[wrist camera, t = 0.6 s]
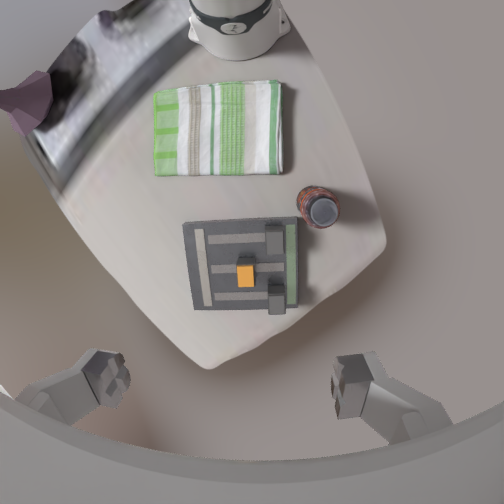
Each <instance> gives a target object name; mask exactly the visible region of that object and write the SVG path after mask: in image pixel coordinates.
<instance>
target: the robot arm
mask: <svg viewBox="0 0 504 504" xmlns="http://www.w3.org/2000/svg"><path fill="white" fill-rule="evenodd" d="M189 2H190V6H191V8H190V14H191V17H189V21H190V24H191V27H190V31H189V35H188V36H189V39H190V40H191V41H193V42H195V43H198V44H201V45H203V46H204V47H205V48H206V49H207V50H208V51H209V52H210V53H211V54H213V55H215V56H217V57H219V58H222V59H226V60H233V61H239V60H247V59H251V58H254V57H257V56H259V55H261V54H263V53H265V52H266V51H267V50H269V49H270V48H271V47H272V46H273V44H274V43H275V42H276V40H277V39H278V38H279V37H281V36H283V35H285V34H286V33H288V32H289V31H290V29H291V28H290V24H289V21H288V19H287V16H286V14H285V12H284V9H283V7H282V5H281V3H280V0H189ZM281 22H284V23H283V24H282V23H281ZM124 363H125V360H124V357H123V355H122V354H121V353H118V352H112V351H106V350H100V349H94V348H90V349H88V350H87V352H86V353H85V354H84V355H83V356H82V357H81V358H80V359H79V360H78V361H77V362H76V364H75V365H74V366H73V367H72V368H67V369H65V370H63V371H60V372H58V373H56V374H53V375H51V376H48V377H46V378H44V379H41V380H39V381H36V382H34V383H31V384H29V385H28V386H26V387H25V389H24V390H23V391H22V392H21V393H20V394H19V395H18V396H17V397H16V398H15V400H14V399H12V398H10V397H9V396H7V395H5V394H3V393H2V392H0V504H504V401H503V402H501V403H499V404H497V405H495V406H494V407H492V408H490V409H488V410H486V411H484V412H482V413H479V414H477V415H475V416H473V417H471V418H469V419H466V420H464V421H462V422H459V423H457V424H454V425H453V423H452V421H451V419H450V418H449V416H448V414H447V412H446V411H445V409H444V407H443V406H442V404H441V403H440V402H438V401H436V400H434V399H432V398H430V397H428V396H427V395H425V394H423V393H421V392H419V391H417V390H415V389H413V388H411V387H409V386H407V385H406V384H404V383H402V382H400V381H398V380H396V379H394V378H389V377H388V375H387V373H386V371H385V369H384V368H383V365H382V364H381V362H380V360H379V358H378V356H377V354H376V353H375V352H374V351H372V352H366V353H361V354H354V355H345V356H336V357H335V358H334V362H333V367H334V372H333V373H332V377H331V393H332V397H333V398H334V399H335V400H336V402H335V410H336V414H337V417H338V419H345V418H353V417H361V419H363V420H364V421H365V422H366V423H367V424H368V425H369V426H370V427H372V428H373V429H374V430H375V431H376V432H377V433H379V434H380V435H381V436H382V437H383V438H384V439H386V440H387V441H388V442H389V444H388V446H385V447H380V448H376V449H371V450H366V451H361V452H356V453H350V454H343V455H337V456H330V457H321V458H310V459H298V460H277V461H245V460H225V459H211V458H202V457H194V456H186V455H179V454H173V453H166V452H161V451H156V450H151V449H146V448H142V447H138V446H133V445H130V444H126V443H122V442H118V441H115V440H111V439H107V438H104V437H101V436H98V435H95V434H92V433H89V432H86V431H83V430H81V429H77V428H75V427H72V426H71V425H72V424H74V423H75V422H77V421H78V420H80V419H81V418H83V417H84V416H86V415H87V414H89V413H90V412H91V411H93V410H94V409H96V408H97V407H99V406H100V405H102V406H107V407H111V408H116V409H117V407H118V405H119V404H120V402H121V400H122V398H123V397H122V393H124V392H126V391H127V390H128V388H129V386H130V381H131V379H130V373H129V370H128V369H127V368H126V367H125V366H124Z"/></svg>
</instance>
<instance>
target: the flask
mask: <svg viewBox="0 0 504 504" xmlns="http://www.w3.org/2000/svg"><path fill="white" fill-rule="evenodd" d="M52 103H53V93H52V86H51V79H50V74H49V73H45V72H40V71H35V72H34V73H33V74H32V75H30V76H29V77H28V78H27V79H26V80H25V81H23V82H22V83H20V84H19V85H18V86H17V87H15V88H11V89H6V90H0V108H1V109H3V110H5V111H6V112H7V114H8V116H9V118H10V121H11V124H12V127H13V130H14V131H16V132H18V133H20V134H22V135H24V136H26V135H28V134H29V133H30V132H31V131H32V130H33V129H34V128H35V127H37V126H38V125H39V124H40V123H41V122H42V121H43V120H44V119H45V118H46V116H47V115H48V113H49V110H50V108H51V105H52Z"/></svg>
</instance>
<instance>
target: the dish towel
mask: <svg viewBox="0 0 504 504" xmlns="http://www.w3.org/2000/svg"><path fill="white" fill-rule="evenodd" d="M153 99H154V165H155V176H175V175H181V176H201V175H252V174H276V175H277V174H279V173H282V172H283V128H282V107H283V92H282V86H281V84H280V82H279V81H278V80H259V81H239V82H234V81H233V82H222V83H215V84H207V85H196V86H189V87H183V88H176V89H168V90H163V91H158V92H157V93H154V97H153Z"/></svg>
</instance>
